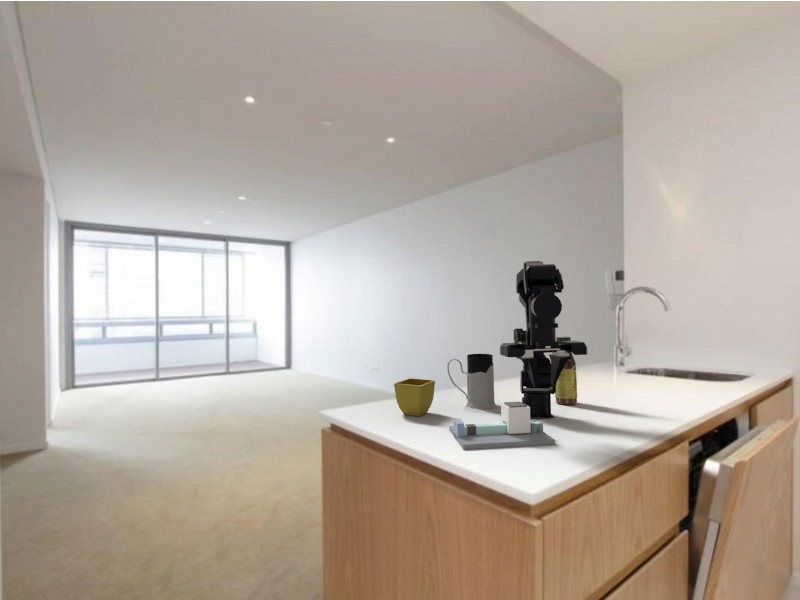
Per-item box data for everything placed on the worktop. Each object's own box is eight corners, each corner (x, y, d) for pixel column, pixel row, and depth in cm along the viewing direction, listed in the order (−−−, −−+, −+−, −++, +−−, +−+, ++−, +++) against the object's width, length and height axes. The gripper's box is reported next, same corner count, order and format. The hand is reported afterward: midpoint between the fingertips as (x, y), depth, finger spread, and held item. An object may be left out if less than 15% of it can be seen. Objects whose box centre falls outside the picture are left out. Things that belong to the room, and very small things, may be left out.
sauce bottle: (580, 405, 125) (579, 337, 126) (559, 405, 125) (557, 337, 126) (572, 400, 132) (570, 335, 132) (551, 400, 132) (550, 336, 132)
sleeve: (522, 426, 101) (521, 400, 101) (530, 432, 96) (529, 405, 96) (501, 427, 101) (500, 401, 101) (508, 433, 96) (508, 406, 96)
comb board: (529, 425, 106) (528, 409, 106) (554, 444, 92) (554, 425, 92) (449, 430, 104) (448, 413, 104) (463, 449, 90) (462, 430, 90)
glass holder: (495, 409, 123) (493, 357, 123) (445, 407, 127) (444, 356, 127) (496, 402, 131) (495, 353, 131) (450, 400, 135) (449, 353, 135)
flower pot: (421, 419, 114) (420, 385, 114) (393, 415, 119) (393, 383, 119) (436, 412, 122) (435, 380, 122) (410, 408, 126) (409, 378, 126)
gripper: (564, 316, 108) (565, 378, 108) (492, 318, 106) (493, 381, 106) (587, 318, 97) (589, 387, 97) (507, 320, 95) (509, 390, 95)
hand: (543, 386), depth 99 cm, fingers open, 4 cm apart
